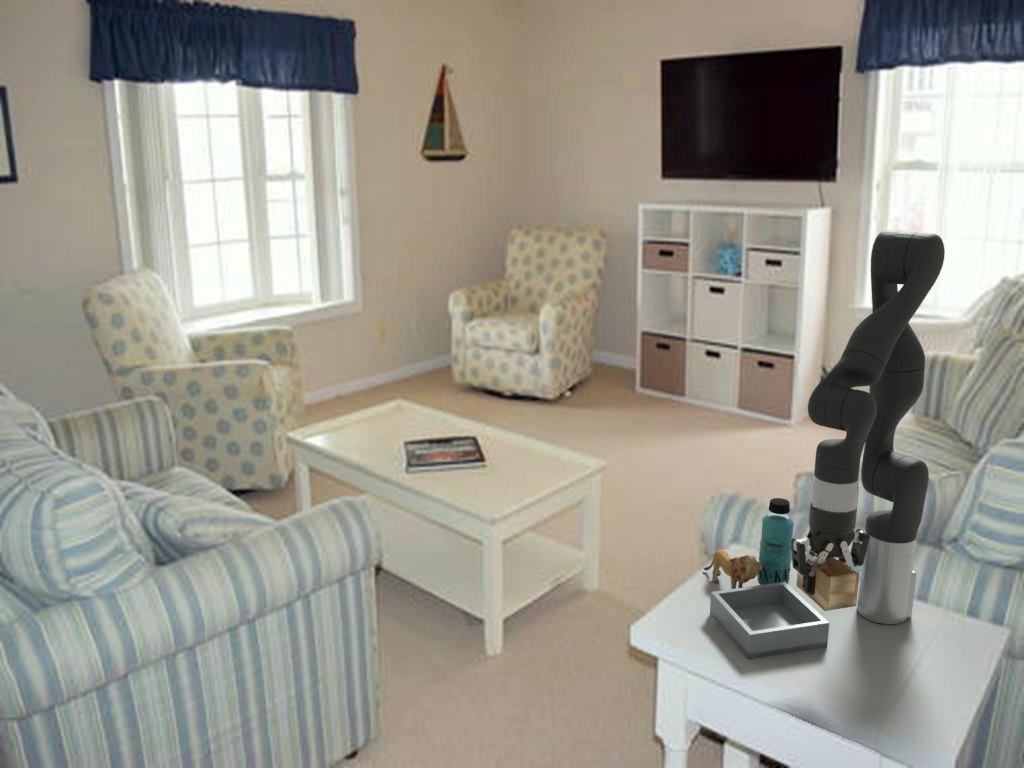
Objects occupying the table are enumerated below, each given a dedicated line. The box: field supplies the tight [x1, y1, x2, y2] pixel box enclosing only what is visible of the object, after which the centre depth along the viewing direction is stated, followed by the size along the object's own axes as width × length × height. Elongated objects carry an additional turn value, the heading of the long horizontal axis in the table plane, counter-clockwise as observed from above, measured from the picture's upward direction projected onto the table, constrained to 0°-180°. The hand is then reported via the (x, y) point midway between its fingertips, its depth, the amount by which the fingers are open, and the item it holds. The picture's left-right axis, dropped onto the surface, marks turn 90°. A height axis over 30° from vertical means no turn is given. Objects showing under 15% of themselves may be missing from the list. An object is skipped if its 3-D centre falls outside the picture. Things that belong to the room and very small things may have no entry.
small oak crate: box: [796, 553, 860, 612], centre depth 159 cm, size 6×9×6 cm, turn 14°
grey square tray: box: [709, 582, 830, 660], centre depth 175 cm, size 16×16×5 cm
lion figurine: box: [703, 549, 763, 589], centre depth 191 cm, size 15×5×9 cm, turn 34°
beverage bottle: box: [756, 497, 795, 585], centre depth 188 cm, size 6×7×20 cm
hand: (825, 589), depth 159 cm, fingers closed on small oak crate, 6 cm apart
